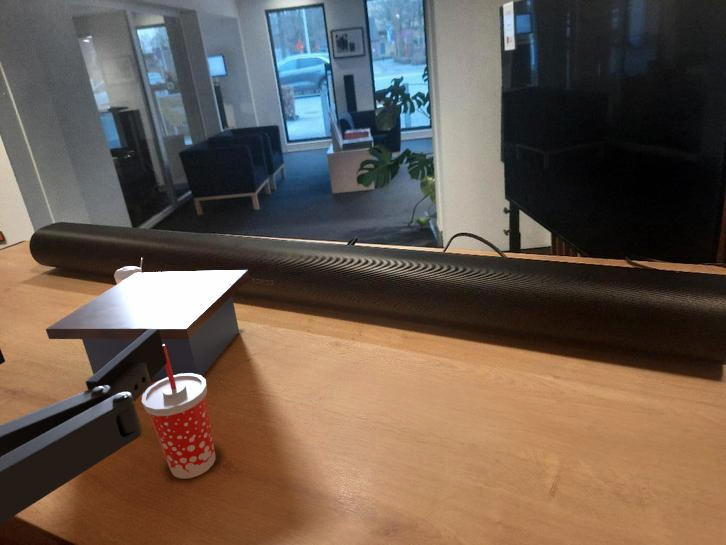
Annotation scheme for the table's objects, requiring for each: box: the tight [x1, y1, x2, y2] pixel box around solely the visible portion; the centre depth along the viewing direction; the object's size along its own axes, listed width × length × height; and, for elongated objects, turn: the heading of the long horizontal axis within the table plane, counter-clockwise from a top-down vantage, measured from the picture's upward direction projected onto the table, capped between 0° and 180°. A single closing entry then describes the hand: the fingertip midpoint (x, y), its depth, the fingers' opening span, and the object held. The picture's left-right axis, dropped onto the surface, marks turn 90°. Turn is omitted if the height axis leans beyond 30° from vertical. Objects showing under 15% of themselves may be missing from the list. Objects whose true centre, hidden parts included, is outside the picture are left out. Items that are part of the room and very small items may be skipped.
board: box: [45, 269, 250, 340], centre depth 72 cm, size 20×20×2 cm
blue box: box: [81, 295, 240, 381], centre depth 73 cm, size 16×14×8 cm
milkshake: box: [113, 257, 144, 285], centre depth 88 cm, size 5×5×10 cm
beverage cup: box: [141, 344, 217, 480], centre depth 49 cm, size 6×6×14 cm
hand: (74, 345), depth 36 cm, fingers open, 13 cm apart
